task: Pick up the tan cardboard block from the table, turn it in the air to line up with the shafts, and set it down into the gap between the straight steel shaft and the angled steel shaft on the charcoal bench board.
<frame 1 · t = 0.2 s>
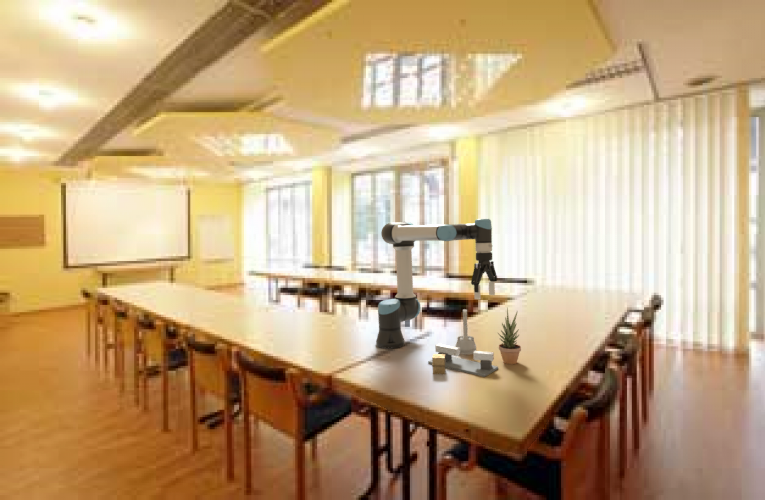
hand: (484, 297, 193), 28 cm above the table, fingers open, 13 cm apart
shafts: (464, 352, 181), on the shaft bench, point 5 cm above the table
potted plant: (509, 362, 184), on the table
shaft bench: (462, 366, 181), on the table
engine component: (465, 351, 202), on the table
tan cardboard block: (439, 372, 174), on the table
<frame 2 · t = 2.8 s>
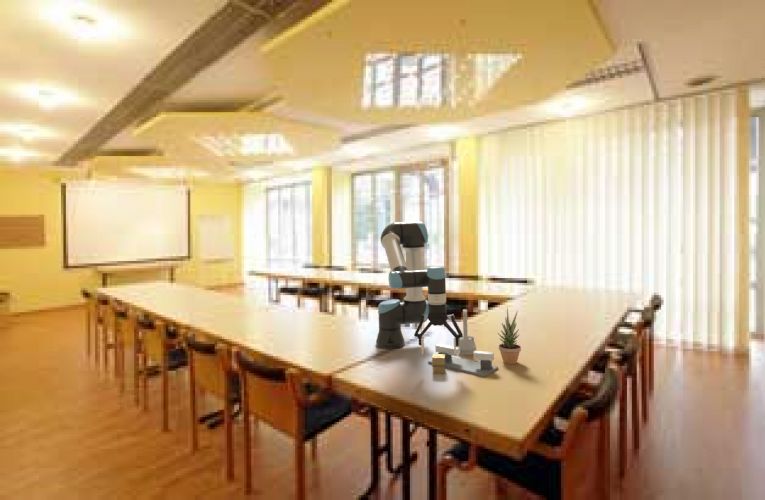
hand: (438, 353, 174), 8 cm above the table, fingers open, 13 cm apart
nothing on the table moved.
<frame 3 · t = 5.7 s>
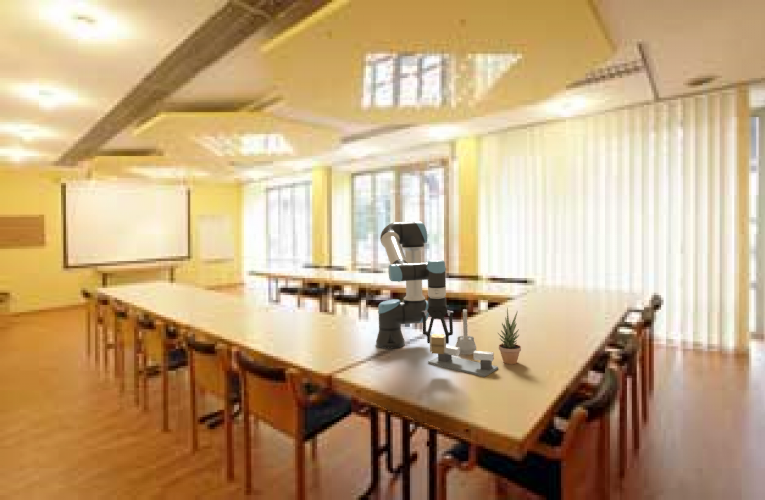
hand: (438, 350, 174), 9 cm above the table, fingers closed on tan cardboard block, 5 cm apart
tan cardboard block: (438, 351, 174), point 9 cm above the table, touching gripper
everything else where it was.
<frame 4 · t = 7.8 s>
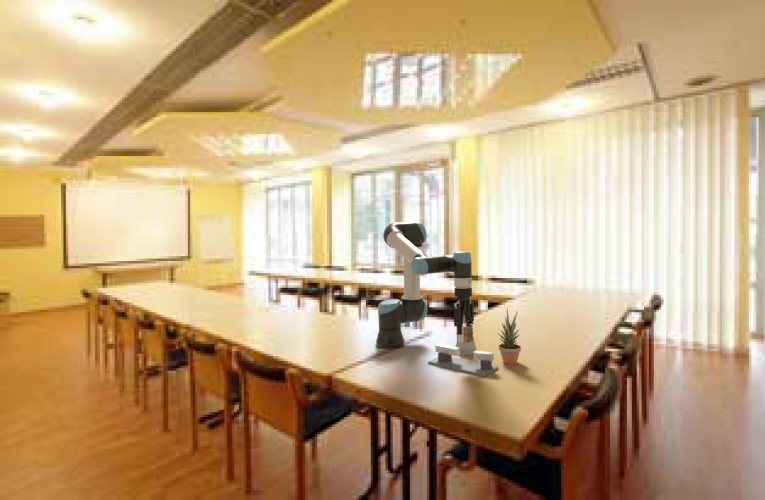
hand: (464, 340, 179), 12 cm above the table, fingers closed on tan cardboard block, 5 cm apart
tan cardboard block: (464, 341, 179), point 11 cm above the table, touching gripper
everything else where it was.
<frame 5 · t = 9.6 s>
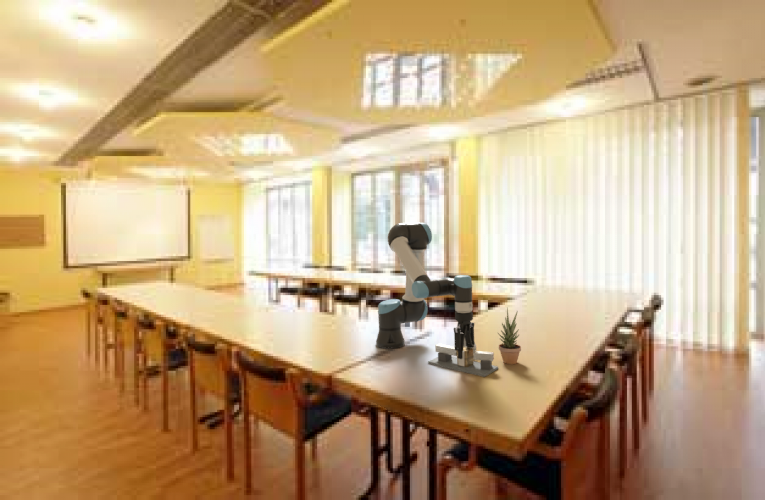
hand: (465, 363, 179), 1 cm above the table, fingers closed on tan cardboard block, 5 cm apart
tan cardboard block: (465, 364, 179), point 1 cm above the table, touching gripper, shaft bench
everything else where it was.
when the fingers open (1 cm above the table, at t = 10.2 s): tan cardboard block stays where it is, resting on shaft bench.
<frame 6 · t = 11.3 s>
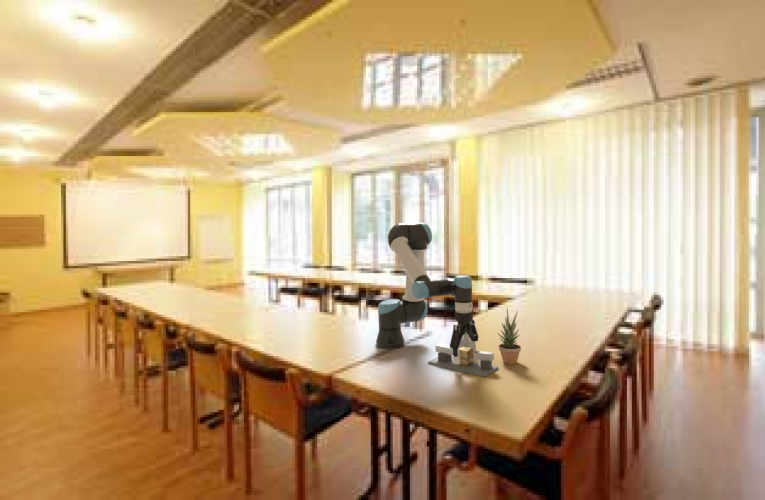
hand: (465, 359, 179), 3 cm above the table, fingers open, 13 cm apart
tan cardboard block: (465, 364, 179), point 1 cm above the table, touching shaft bench
everything else where it was.
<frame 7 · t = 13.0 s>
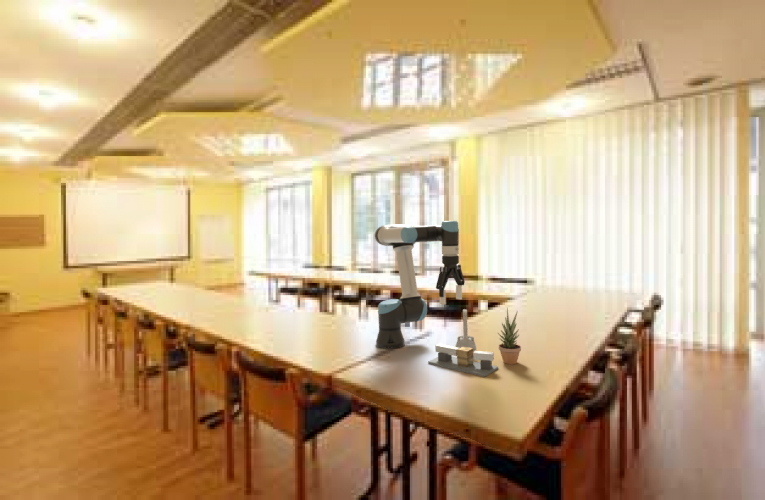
hand: (451, 301, 187), 27 cm above the table, fingers open, 13 cm apart
nothing on the table moved.
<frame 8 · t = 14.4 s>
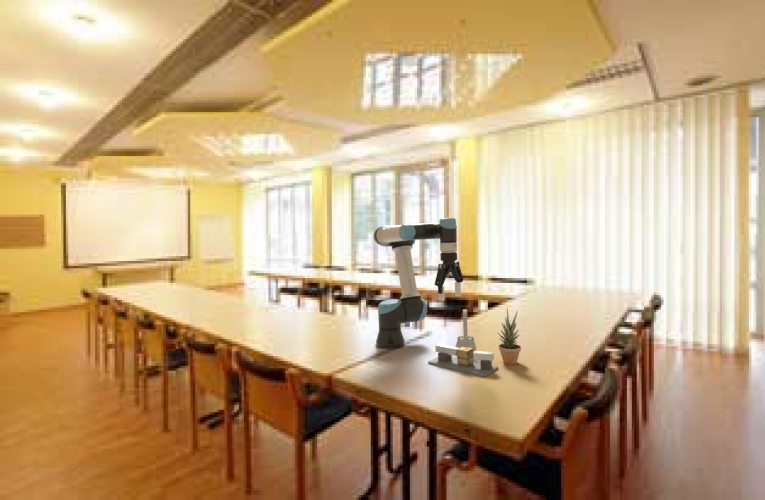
hand: (449, 298, 187), 29 cm above the table, fingers open, 13 cm apart
nothing on the table moved.
at the end: tan cardboard block 0.1 cm from the target spot on the shaft bench, point 1.0 cm above the shaft bench's base; tan cardboard block tilted 0°; the gripper is holding nothing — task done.
